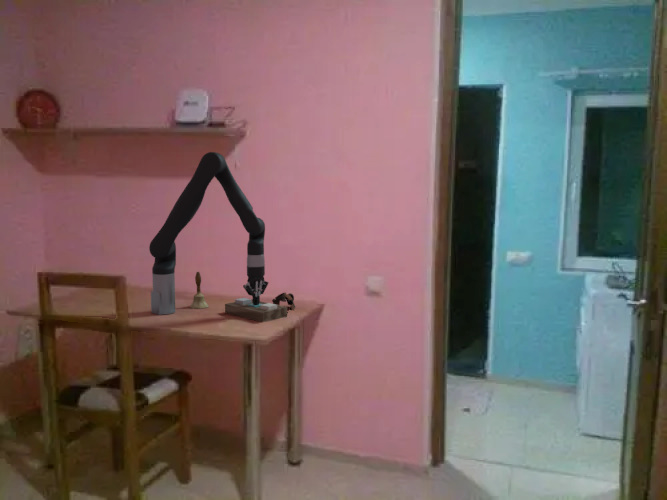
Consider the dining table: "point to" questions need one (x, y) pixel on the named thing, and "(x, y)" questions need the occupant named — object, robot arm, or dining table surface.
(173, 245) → the robot arm
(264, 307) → the cream key
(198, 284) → the hand bell
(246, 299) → the grey key
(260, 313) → the console
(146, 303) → the dining table surface
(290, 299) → the pottery mug
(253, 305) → the teal key
